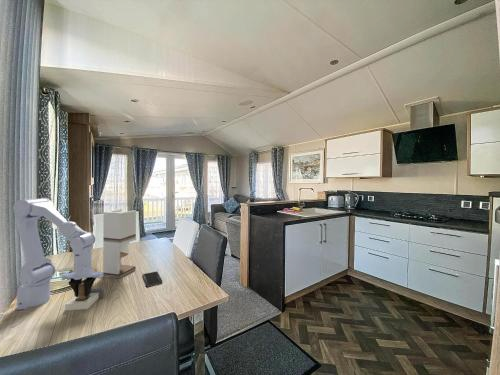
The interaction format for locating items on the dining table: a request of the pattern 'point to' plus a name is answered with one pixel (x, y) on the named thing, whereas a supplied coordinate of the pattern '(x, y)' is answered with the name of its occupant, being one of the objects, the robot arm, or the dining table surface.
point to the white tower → (117, 241)
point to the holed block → (81, 302)
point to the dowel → (81, 292)
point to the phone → (152, 279)
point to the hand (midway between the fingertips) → (82, 295)
